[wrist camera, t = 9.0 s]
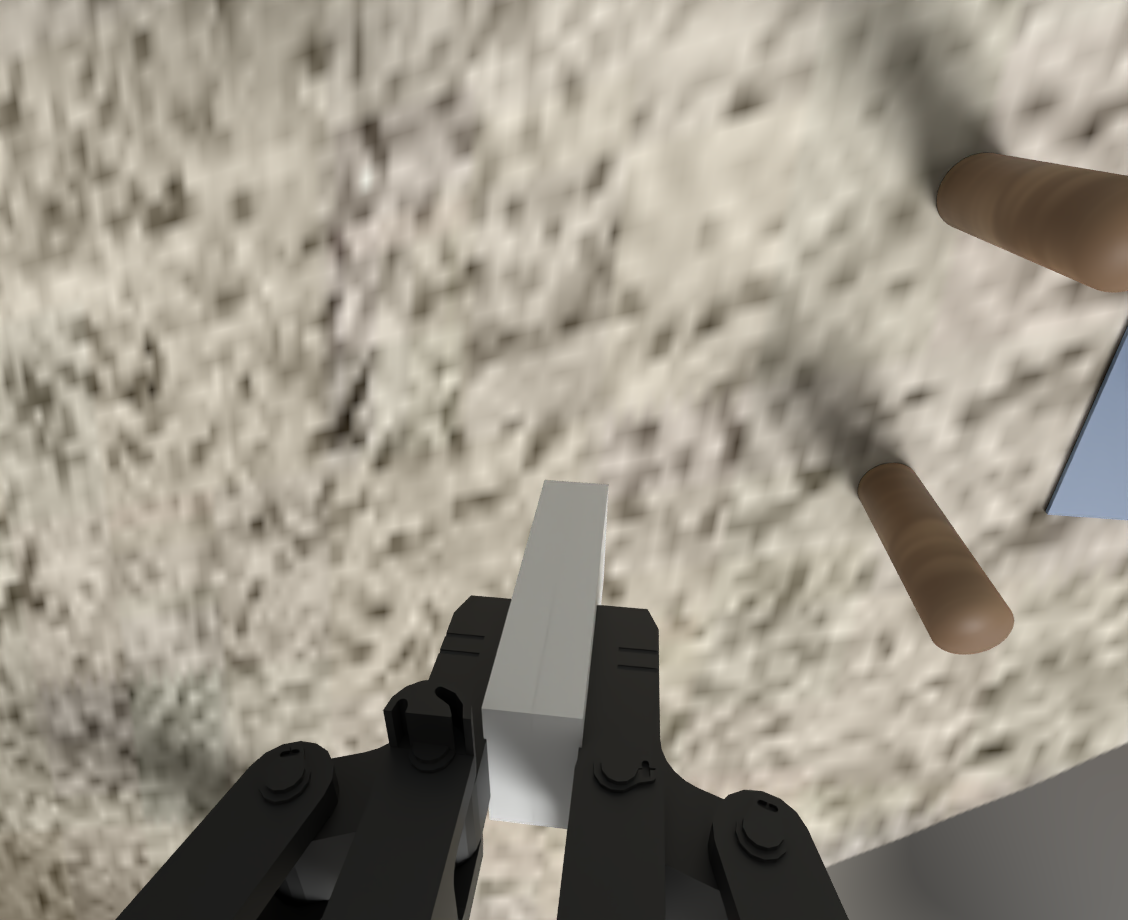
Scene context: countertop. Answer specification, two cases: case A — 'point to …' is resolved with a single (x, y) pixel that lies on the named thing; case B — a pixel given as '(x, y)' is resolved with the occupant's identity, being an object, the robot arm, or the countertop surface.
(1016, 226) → the post near
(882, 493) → the post far
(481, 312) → the countertop surface
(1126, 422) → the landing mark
